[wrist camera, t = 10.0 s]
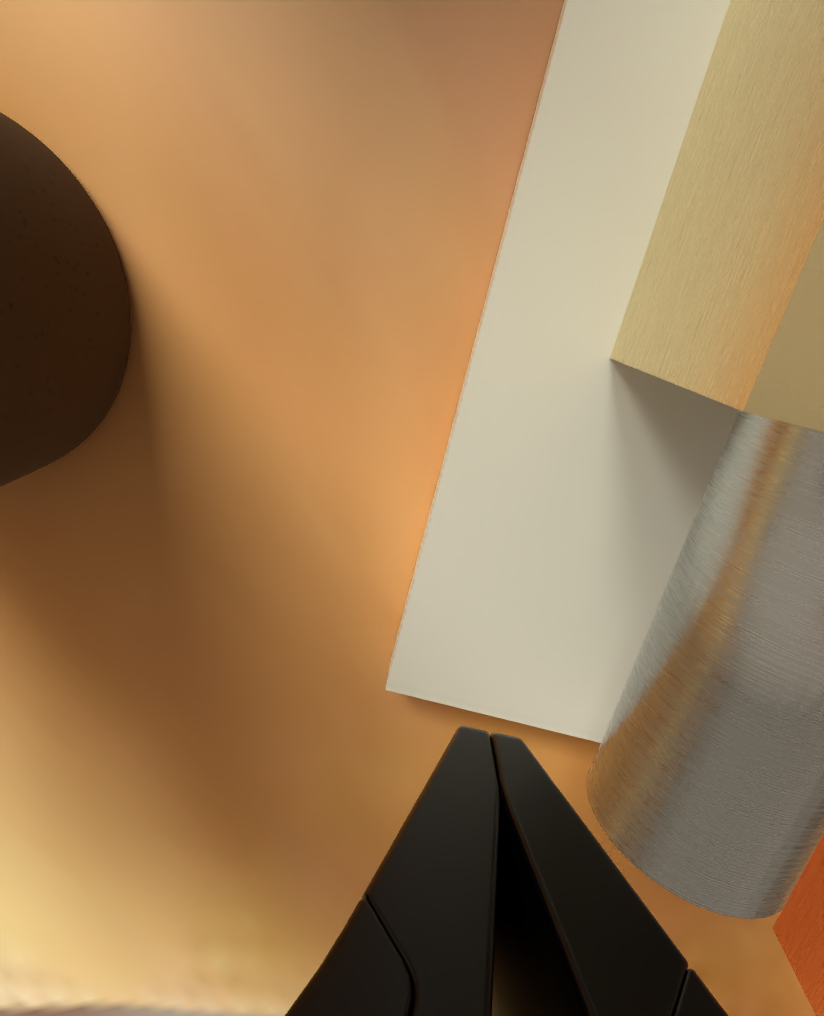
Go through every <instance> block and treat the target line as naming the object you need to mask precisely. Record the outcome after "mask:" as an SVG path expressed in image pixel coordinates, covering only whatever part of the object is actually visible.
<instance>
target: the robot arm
mask: <svg viewBox="0 0 824 1016" xmlns="http://www.w3.org/2000/svg"><path fill="white" fill-rule="evenodd" d="M687 968H688V962H687V961H686V959H685V958H684V957H683V955H682V954H681V953H680V951H679V950H678V949H677V947H676V946H675V945H674V943H673V942H672V941H671V939H670V938H669V937H668V935H667V934H666V933H665V931H664V930H663V929H662V927H661V926H660V925H659V923H658V922H657V920H656V919H655V918H654V916H653V915H652V914H651V912H650V911H649V910H648V908H647V907H646V906H645V904H644V903H643V902H642V900H641V899H640V898H639V896H638V895H637V894H636V892H635V891H634V890H633V888H632V887H631V886H630V884H629V883H628V882H627V880H626V879H625V878H624V876H623V875H622V874H621V872H620V871H619V870H618V868H617V867H616V865H615V864H614V863H613V861H612V860H611V859H610V857H609V856H608V855H607V853H606V852H605V851H604V849H603V848H602V847H601V845H600V844H599V843H598V841H597V840H596V839H595V837H594V836H593V835H592V833H591V832H590V831H589V829H588V828H587V827H586V825H585V824H584V823H583V821H582V820H581V819H580V817H579V816H578V815H577V813H576V812H575V811H574V809H573V808H572V806H571V805H570V804H569V802H568V801H567V800H566V798H565V797H564V796H563V794H562V793H561V792H560V790H559V789H558V788H557V786H556V785H555V784H554V782H553V781H552V780H551V778H550V777H549V776H548V774H547V773H546V772H545V770H544V769H543V768H542V766H541V765H540V764H539V762H538V761H537V760H536V758H535V757H534V756H533V754H532V753H531V751H530V750H529V749H528V747H527V746H526V745H525V743H524V742H523V741H522V740H521V739H520V738H517V737H513V736H508V735H504V734H499V733H492V734H491V735H490V736H489V733H488V732H486V731H484V730H480V729H475V728H471V727H466V726H460V727H459V728H458V729H457V731H456V732H455V734H454V736H453V738H452V739H451V741H450V743H449V745H448V746H447V748H446V750H445V752H444V753H443V755H442V757H441V759H440V761H439V762H438V764H437V766H436V768H435V769H434V771H433V773H432V775H431V776H430V778H429V780H428V782H427V783H426V785H425V787H424V789H423V791H422V792H421V794H420V796H419V798H418V799H417V801H416V803H415V805H414V806H413V808H412V810H411V812H410V814H409V815H408V817H407V819H406V821H405V822H404V824H403V826H402V828H401V829H400V831H399V833H398V835H397V836H396V838H395V840H394V842H393V844H392V845H391V847H390V849H389V851H388V852H387V854H386V856H385V858H384V859H383V861H382V863H381V865H380V866H379V868H378V870H377V872H376V874H375V875H374V877H373V879H372V881H371V882H370V884H369V886H368V888H367V889H366V891H365V893H364V895H363V897H362V900H360V901H359V903H358V904H357V906H356V908H355V910H354V911H353V913H352V915H351V917H350V918H349V920H348V922H347V924H346V925H345V927H344V929H343V930H342V932H341V934H340V935H339V937H338V938H337V940H336V942H335V943H334V945H333V947H332V948H331V950H330V951H329V953H328V955H327V956H326V958H325V959H324V961H323V963H322V964H321V966H320V967H319V969H318V970H317V972H316V973H315V974H314V976H313V977H312V979H311V980H310V981H309V983H308V984H307V986H306V987H305V988H304V990H303V991H302V993H301V994H300V995H299V997H298V998H297V1000H296V1001H295V1002H294V1004H293V1005H292V1007H291V1008H290V1009H289V1011H288V1012H287V1013H286V1015H285V1016H728V1015H727V1014H726V1012H725V1011H724V1010H723V1008H722V1007H721V1006H720V1004H719V1003H718V1002H717V1001H716V999H715V998H714V996H713V995H712V994H711V992H710V991H709V990H708V988H707V987H706V986H705V984H704V983H703V982H702V980H701V979H700V978H699V976H698V975H697V974H696V972H695V971H694V970H692V969H688V970H687Z"/></svg>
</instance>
